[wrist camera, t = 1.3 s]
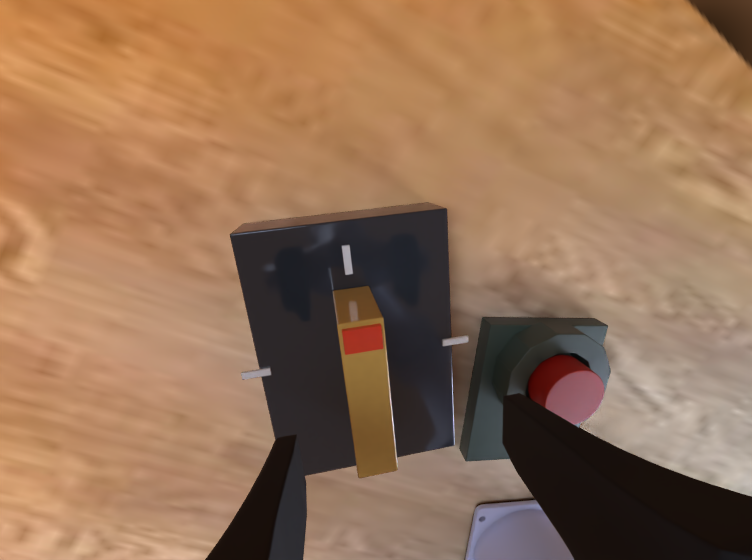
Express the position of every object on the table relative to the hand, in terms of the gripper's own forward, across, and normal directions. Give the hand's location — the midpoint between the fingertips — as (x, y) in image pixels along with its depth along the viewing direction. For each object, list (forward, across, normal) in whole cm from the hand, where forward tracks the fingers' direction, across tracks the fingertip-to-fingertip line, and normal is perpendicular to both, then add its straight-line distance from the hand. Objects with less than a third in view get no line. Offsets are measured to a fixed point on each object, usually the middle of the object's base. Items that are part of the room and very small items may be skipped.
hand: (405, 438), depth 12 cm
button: (+7, -11, +4) cm, 14 cm away
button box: (+10, -10, +6) cm, 16 cm away
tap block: (+10, +1, 0) cm, 10 cm away
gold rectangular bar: (+7, +1, 0) cm, 7 cm away
